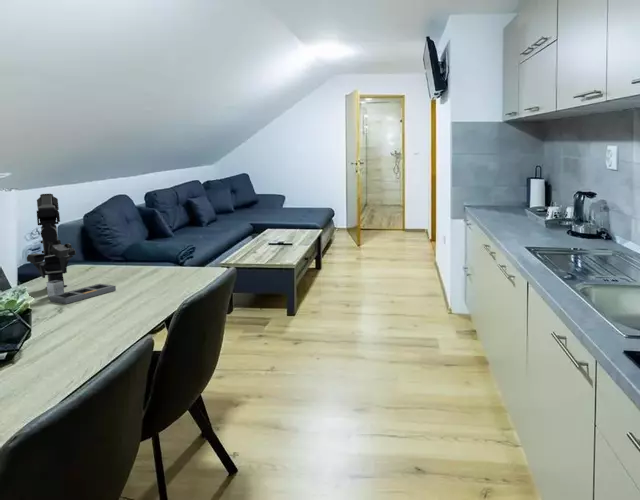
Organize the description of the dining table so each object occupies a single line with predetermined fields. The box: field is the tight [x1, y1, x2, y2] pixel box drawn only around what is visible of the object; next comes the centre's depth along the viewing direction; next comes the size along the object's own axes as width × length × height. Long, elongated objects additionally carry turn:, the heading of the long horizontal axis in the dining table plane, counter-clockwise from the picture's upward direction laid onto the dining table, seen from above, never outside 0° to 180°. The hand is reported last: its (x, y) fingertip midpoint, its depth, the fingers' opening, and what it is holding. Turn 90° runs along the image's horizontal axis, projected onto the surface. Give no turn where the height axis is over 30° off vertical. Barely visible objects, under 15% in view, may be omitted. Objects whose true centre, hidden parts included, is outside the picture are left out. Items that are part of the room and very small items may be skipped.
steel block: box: [45, 280, 65, 298], centre depth 242 cm, size 4×4×6 cm
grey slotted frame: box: [49, 283, 117, 305], centre depth 241 cm, size 10×24×2 cm, turn 149°
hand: (54, 275), depth 241 cm, fingers open, 9 cm apart
